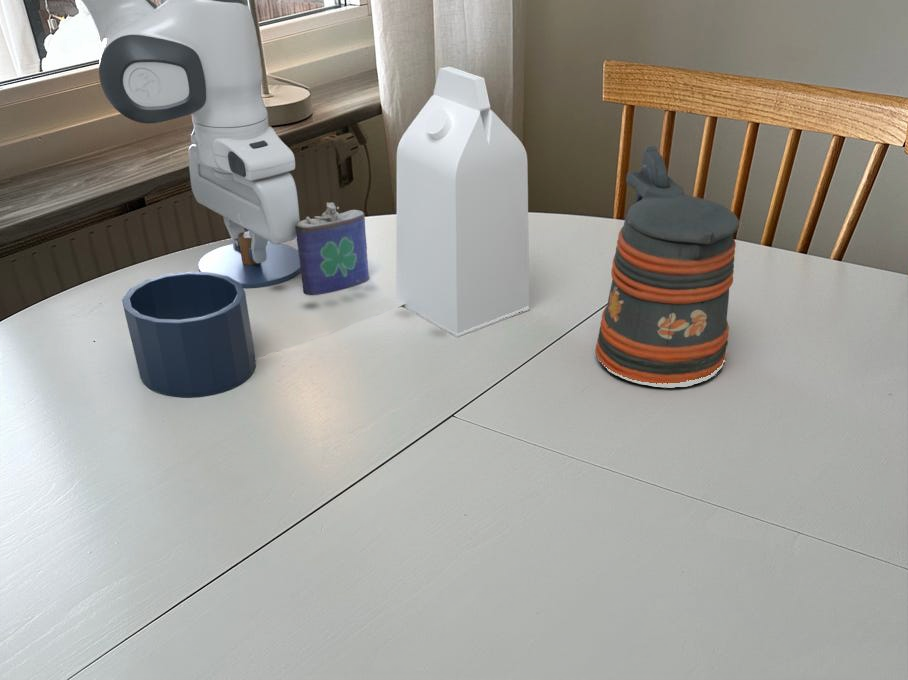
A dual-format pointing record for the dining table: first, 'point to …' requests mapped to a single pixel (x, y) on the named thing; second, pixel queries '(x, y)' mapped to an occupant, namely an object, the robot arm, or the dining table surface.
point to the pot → (190, 333)
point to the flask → (332, 251)
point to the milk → (461, 209)
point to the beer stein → (668, 282)
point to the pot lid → (253, 263)
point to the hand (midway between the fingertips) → (250, 256)
